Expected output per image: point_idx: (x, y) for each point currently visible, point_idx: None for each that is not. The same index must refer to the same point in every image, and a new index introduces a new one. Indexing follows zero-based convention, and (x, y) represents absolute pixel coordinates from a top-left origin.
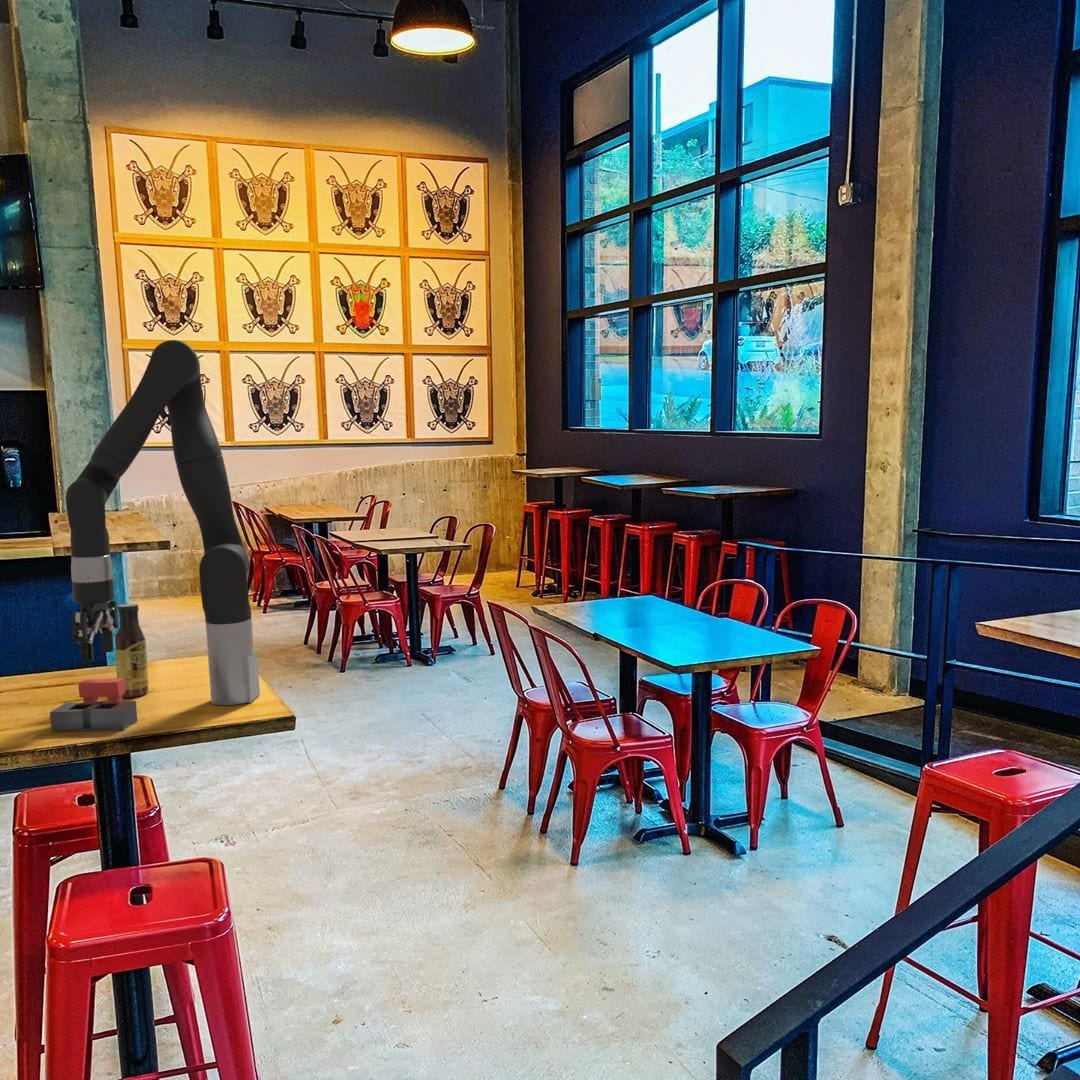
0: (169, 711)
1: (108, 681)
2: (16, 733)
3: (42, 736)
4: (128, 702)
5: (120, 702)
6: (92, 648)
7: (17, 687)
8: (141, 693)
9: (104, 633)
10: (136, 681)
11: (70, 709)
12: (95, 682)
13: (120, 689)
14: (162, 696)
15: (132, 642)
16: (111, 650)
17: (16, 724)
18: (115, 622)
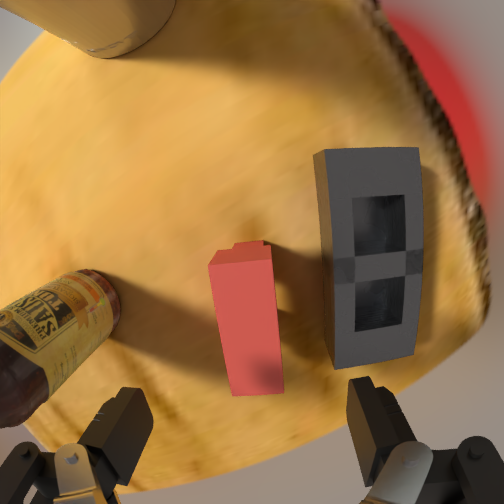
0: (221, 107)
1: (260, 303)
2: None
3: (417, 329)
4: (341, 167)
5: (341, 197)
6: (376, 422)
7: (127, 486)
8: (96, 274)
9: (112, 478)
10: (87, 293)
11: (387, 324)
12: (276, 344)
13: (252, 251)
14: (92, 214)
15: (9, 356)
16: (138, 391)
17: (328, 423)
18: (25, 473)
